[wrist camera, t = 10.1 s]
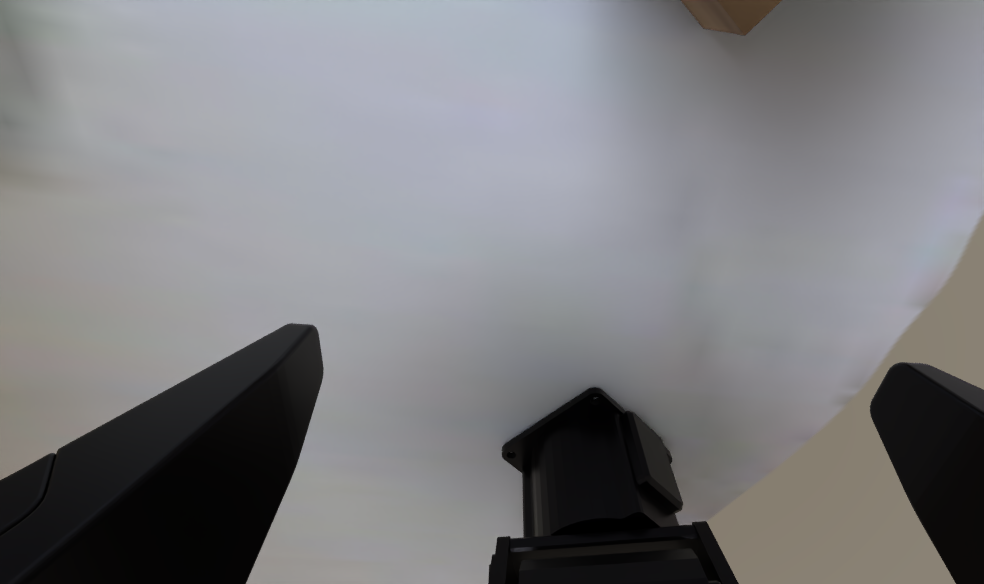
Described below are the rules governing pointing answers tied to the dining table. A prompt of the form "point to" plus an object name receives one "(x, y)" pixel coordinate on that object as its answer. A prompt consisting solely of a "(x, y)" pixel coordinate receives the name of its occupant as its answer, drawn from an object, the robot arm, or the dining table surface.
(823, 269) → the dining table surface
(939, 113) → the dining table surface
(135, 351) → the dining table surface
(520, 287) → the dining table surface
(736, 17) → the walnut block
